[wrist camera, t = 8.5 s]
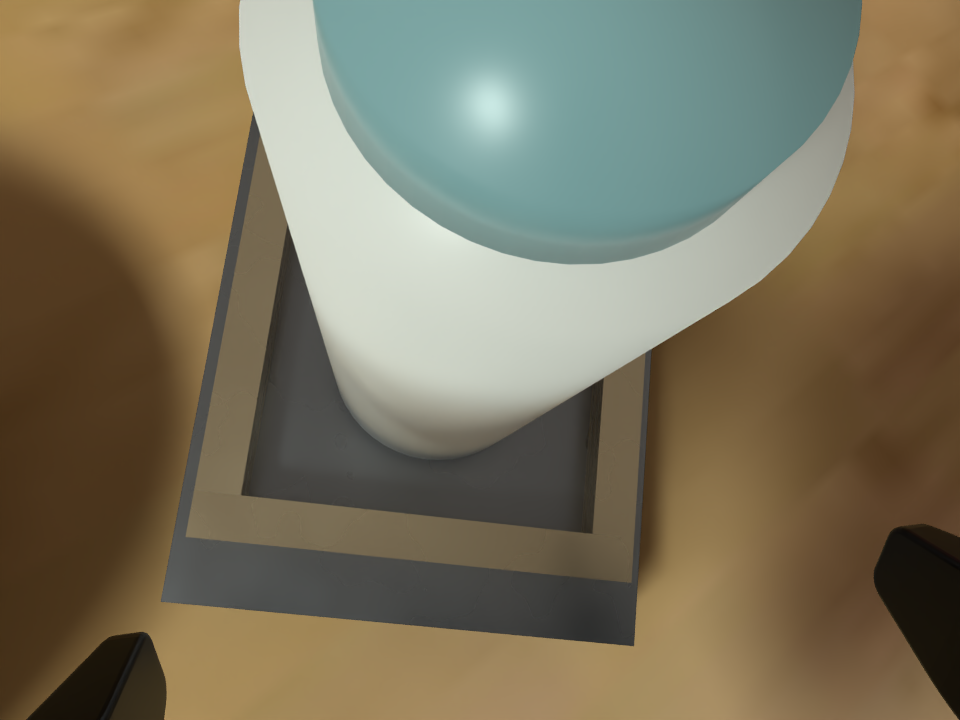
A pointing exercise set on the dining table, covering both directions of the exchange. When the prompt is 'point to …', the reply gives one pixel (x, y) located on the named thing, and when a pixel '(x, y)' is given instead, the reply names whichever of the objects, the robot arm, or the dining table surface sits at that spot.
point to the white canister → (535, 184)
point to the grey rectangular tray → (392, 481)
